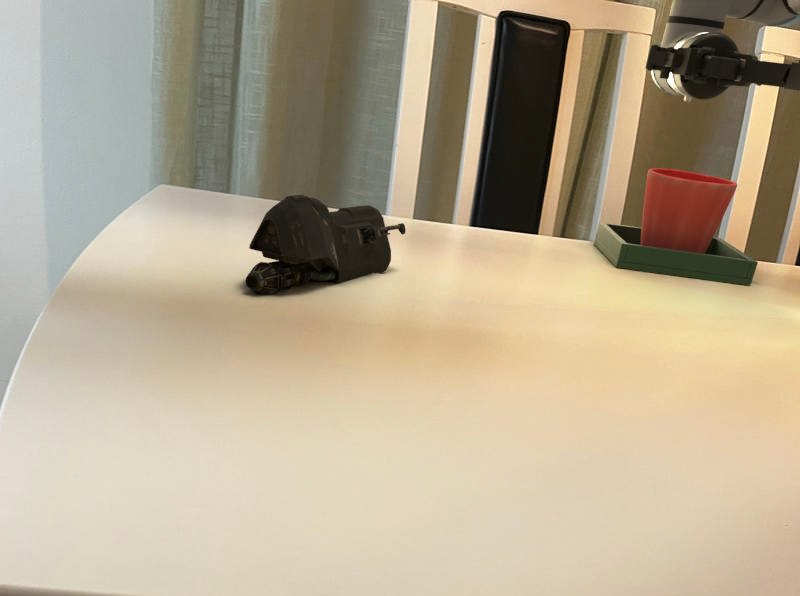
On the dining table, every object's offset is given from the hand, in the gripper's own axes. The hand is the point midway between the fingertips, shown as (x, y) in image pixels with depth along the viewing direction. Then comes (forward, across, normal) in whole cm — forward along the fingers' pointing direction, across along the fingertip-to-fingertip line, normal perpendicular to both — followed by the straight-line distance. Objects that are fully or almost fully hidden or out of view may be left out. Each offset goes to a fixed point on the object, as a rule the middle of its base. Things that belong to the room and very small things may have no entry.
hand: (751, 69), depth 114 cm
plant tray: (-6, +2, -22) cm, 23 cm away
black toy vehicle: (+32, +45, -22) cm, 60 cm away
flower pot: (-5, +2, -22) cm, 22 cm away
